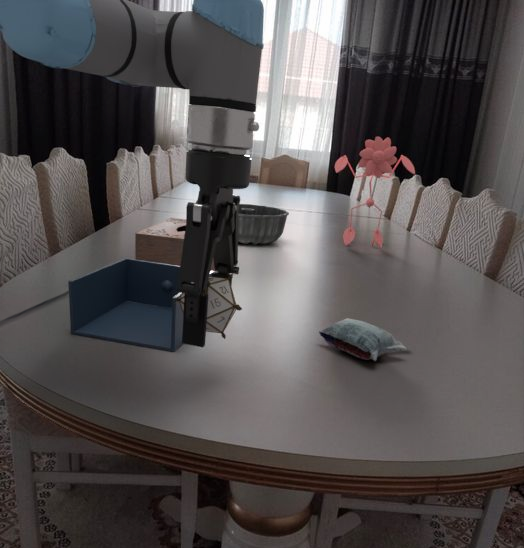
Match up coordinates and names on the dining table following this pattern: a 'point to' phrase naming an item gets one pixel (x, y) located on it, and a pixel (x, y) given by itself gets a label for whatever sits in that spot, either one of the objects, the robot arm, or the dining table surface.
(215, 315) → the game die
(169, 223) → the tissue box cover
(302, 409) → the dining table surface
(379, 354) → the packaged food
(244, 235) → the bundt pan
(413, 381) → the dining table surface
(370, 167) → the figurine
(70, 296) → the blue open box
